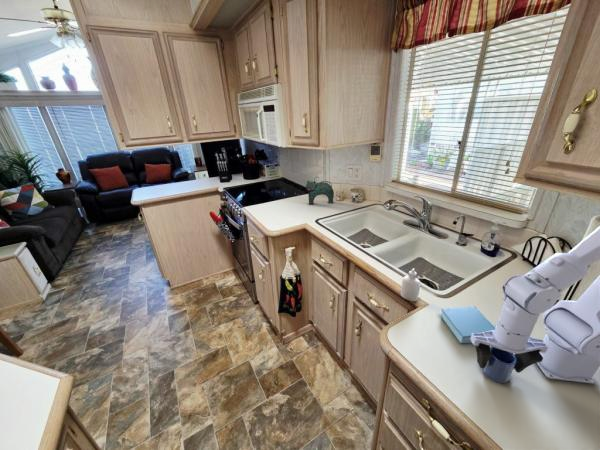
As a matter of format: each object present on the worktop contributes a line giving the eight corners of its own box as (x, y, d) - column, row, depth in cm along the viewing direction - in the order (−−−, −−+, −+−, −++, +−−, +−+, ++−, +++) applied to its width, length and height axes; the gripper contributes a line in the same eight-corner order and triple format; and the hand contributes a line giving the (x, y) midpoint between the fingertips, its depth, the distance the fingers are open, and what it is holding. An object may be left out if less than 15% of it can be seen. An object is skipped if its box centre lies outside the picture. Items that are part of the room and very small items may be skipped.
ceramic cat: (306, 205, 180) (305, 178, 172) (306, 202, 186) (305, 176, 177) (334, 203, 180) (334, 176, 171) (333, 200, 185) (332, 174, 177)
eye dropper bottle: (407, 290, 91) (411, 263, 86) (420, 300, 86) (425, 271, 81) (398, 294, 89) (402, 266, 84) (410, 304, 84) (414, 275, 79)
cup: (501, 364, 63) (508, 346, 61) (513, 384, 59) (522, 366, 56) (478, 362, 64) (485, 344, 62) (488, 381, 60) (496, 363, 57)
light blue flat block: (473, 313, 79) (475, 306, 78) (498, 341, 69) (501, 334, 68) (439, 316, 79) (441, 308, 78) (460, 344, 69) (462, 336, 68)
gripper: (540, 315, 57) (521, 355, 63) (470, 309, 60) (458, 348, 65) (563, 340, 51) (540, 383, 56) (484, 333, 53) (470, 374, 59)
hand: (497, 366), depth 60 cm, fingers open, 7 cm apart
